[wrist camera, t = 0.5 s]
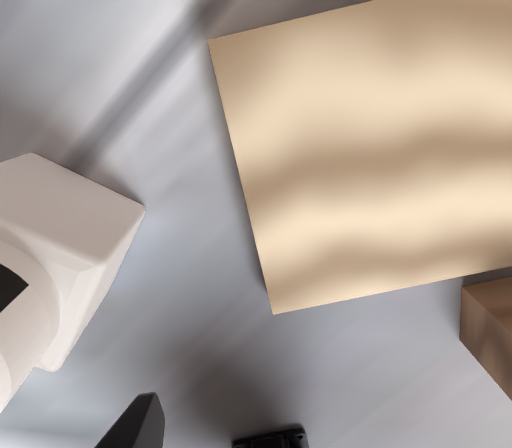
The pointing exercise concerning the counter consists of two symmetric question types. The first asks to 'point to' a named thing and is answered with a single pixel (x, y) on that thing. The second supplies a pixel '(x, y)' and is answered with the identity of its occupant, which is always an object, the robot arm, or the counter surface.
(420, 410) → the counter surface
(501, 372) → the walnut block
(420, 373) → the counter surface
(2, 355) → the medicine bottle
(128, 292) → the counter surface
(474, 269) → the birch base
